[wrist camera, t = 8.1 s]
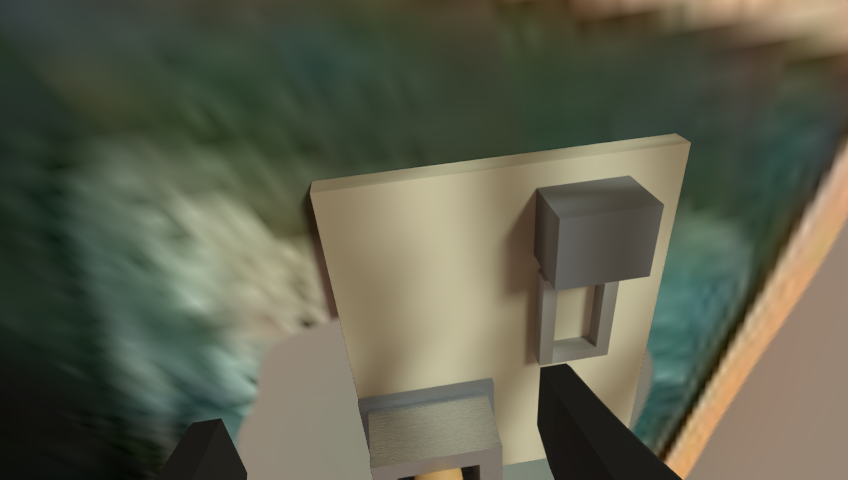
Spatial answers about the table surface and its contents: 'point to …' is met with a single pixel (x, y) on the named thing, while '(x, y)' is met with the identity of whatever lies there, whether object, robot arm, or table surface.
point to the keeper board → (504, 272)
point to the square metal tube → (436, 439)
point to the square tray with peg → (454, 476)
